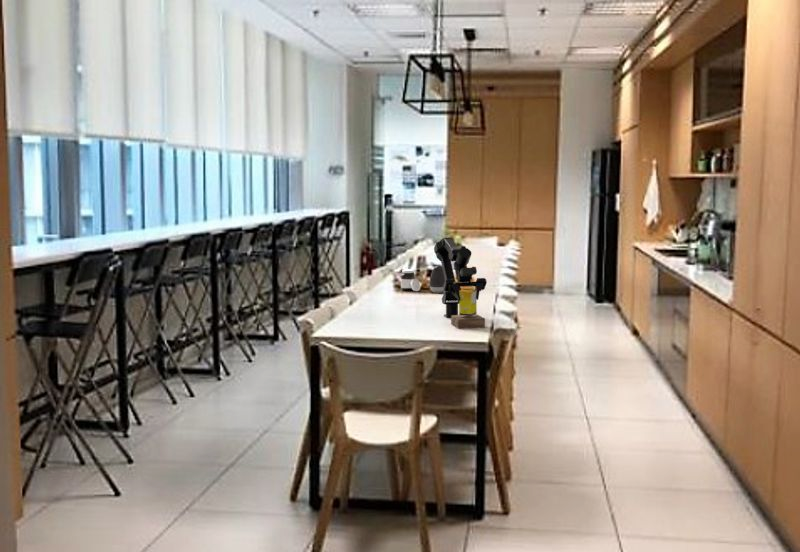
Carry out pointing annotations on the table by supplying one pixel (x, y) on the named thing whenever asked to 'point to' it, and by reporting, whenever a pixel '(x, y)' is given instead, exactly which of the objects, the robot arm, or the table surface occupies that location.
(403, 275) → the spread jar
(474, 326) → the walnut plinth
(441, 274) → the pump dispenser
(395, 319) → the table surface
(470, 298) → the supplement box
